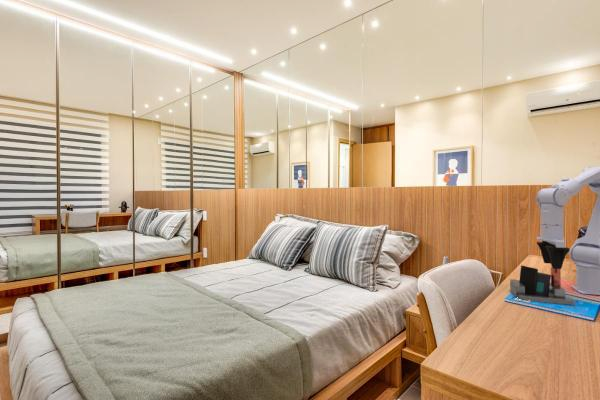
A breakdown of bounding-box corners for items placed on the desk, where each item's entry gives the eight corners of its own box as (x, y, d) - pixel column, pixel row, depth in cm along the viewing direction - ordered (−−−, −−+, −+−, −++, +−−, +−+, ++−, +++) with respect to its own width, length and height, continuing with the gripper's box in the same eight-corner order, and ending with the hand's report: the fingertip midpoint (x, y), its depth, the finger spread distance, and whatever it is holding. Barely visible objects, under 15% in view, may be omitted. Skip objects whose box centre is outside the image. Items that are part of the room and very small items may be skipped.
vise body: (559, 293, 103) (559, 281, 103) (574, 305, 92) (574, 292, 92) (508, 288, 109) (508, 277, 109) (517, 299, 98) (517, 287, 98)
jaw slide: (556, 294, 102) (555, 265, 101) (565, 302, 94) (565, 271, 94) (546, 293, 103) (546, 265, 102) (555, 301, 95) (554, 270, 95)
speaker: (529, 300, 97) (531, 268, 98) (517, 295, 103) (519, 265, 103) (553, 303, 97) (556, 270, 97) (540, 297, 103) (542, 267, 103)
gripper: (530, 222, 107) (530, 260, 107) (544, 226, 94) (544, 270, 94) (555, 222, 104) (555, 261, 105) (573, 227, 91) (573, 272, 91)
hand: (552, 265), depth 99 cm, fingers open, 7 cm apart
